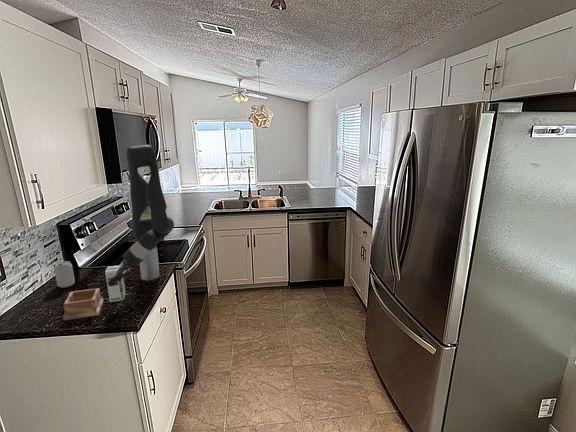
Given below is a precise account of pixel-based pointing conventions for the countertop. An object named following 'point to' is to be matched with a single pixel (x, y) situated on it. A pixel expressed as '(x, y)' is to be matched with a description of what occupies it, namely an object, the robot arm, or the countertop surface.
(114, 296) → the syrup box
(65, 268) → the can
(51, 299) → the countertop surface
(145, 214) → the protein box
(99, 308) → the wooden tray
